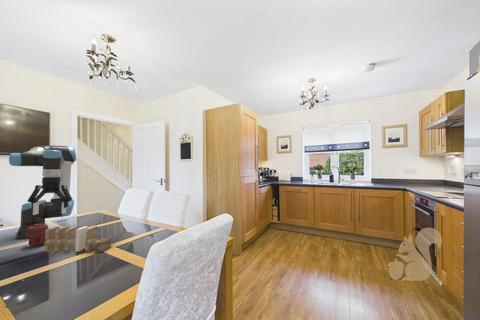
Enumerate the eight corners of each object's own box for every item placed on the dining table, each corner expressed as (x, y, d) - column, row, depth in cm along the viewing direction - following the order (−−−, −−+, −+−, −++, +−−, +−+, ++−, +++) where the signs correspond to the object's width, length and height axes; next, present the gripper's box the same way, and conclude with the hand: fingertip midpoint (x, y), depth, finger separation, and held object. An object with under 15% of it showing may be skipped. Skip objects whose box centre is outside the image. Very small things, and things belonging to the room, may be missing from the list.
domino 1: (44, 252, 104) (45, 229, 105) (55, 247, 110) (56, 226, 111) (48, 251, 104) (49, 229, 105) (58, 247, 110) (59, 226, 111)
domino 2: (54, 251, 104) (55, 229, 105) (64, 247, 110) (65, 226, 111) (58, 251, 104) (59, 229, 105) (68, 247, 110) (69, 226, 111)
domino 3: (64, 251, 105) (65, 229, 105) (74, 247, 110) (75, 226, 111) (68, 251, 105) (69, 229, 105) (77, 247, 111) (78, 226, 111)
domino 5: (85, 251, 105) (85, 229, 105) (93, 247, 111) (94, 226, 111) (88, 251, 105) (89, 229, 105) (96, 247, 111) (97, 226, 111)
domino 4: (87, 247, 111) (88, 226, 111) (78, 251, 105) (79, 229, 105) (83, 247, 111) (84, 226, 111) (74, 251, 105) (75, 229, 105)
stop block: (93, 252, 104) (94, 242, 104) (104, 246, 112) (104, 237, 112) (101, 252, 104) (101, 242, 104) (111, 246, 112) (111, 237, 112)
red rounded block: (53, 242, 118) (32, 249, 108) (40, 241, 120) (19, 248, 110) (54, 222, 118) (34, 227, 108) (41, 221, 120) (21, 226, 110)
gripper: (19, 177, 104) (17, 216, 103) (72, 177, 109) (70, 214, 108) (31, 176, 111) (29, 213, 110) (80, 176, 116) (79, 211, 115)
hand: (49, 213), depth 109 cm, fingers open, 13 cm apart
